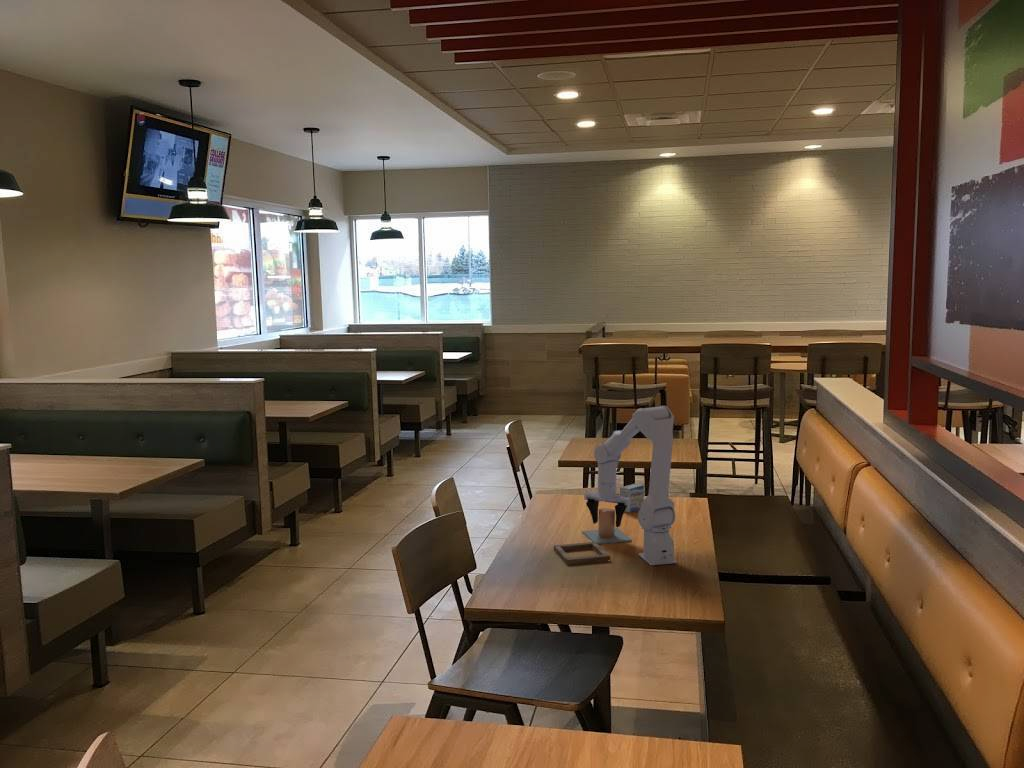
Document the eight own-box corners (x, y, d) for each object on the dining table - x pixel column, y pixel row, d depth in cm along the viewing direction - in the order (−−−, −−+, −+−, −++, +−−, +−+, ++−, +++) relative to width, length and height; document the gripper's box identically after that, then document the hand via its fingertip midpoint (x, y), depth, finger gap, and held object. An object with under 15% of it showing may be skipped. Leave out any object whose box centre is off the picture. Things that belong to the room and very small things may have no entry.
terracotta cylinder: (610, 538, 252) (610, 513, 251) (595, 536, 255) (596, 511, 254) (617, 534, 256) (617, 509, 255) (602, 532, 259) (603, 507, 258)
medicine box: (629, 513, 281) (629, 489, 280) (619, 510, 284) (619, 486, 283) (644, 509, 286) (644, 485, 285) (634, 506, 289) (634, 482, 288)
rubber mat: (631, 541, 251) (631, 539, 251) (594, 544, 248) (594, 542, 248) (617, 529, 263) (617, 528, 263) (582, 532, 260) (582, 531, 260)
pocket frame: (610, 560, 234) (610, 555, 234) (567, 565, 231) (567, 559, 231) (595, 546, 247) (595, 541, 247) (553, 550, 244) (553, 545, 244)
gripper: (580, 482, 253) (580, 524, 255) (624, 487, 246) (624, 531, 248) (589, 477, 259) (589, 518, 261) (632, 482, 253) (632, 525, 254)
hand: (606, 524), depth 255 cm, fingers open, 7 cm apart
